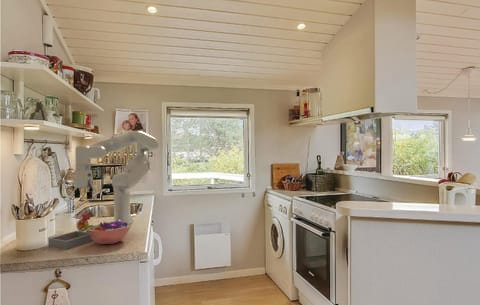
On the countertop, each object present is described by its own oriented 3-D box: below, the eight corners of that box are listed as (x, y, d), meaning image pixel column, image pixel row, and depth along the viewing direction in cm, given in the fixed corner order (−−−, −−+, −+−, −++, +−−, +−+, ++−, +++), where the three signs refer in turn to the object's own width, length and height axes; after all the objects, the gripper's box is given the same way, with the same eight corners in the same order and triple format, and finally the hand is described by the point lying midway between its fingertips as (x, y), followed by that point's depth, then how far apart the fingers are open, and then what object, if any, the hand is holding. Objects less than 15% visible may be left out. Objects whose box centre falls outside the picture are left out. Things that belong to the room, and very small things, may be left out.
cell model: (90, 240, 151) (89, 218, 151) (131, 235, 158) (131, 214, 158) (85, 250, 135) (85, 226, 135) (132, 245, 142) (131, 221, 142)
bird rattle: (77, 237, 163) (91, 231, 163) (69, 219, 164) (83, 213, 163) (83, 234, 169) (97, 228, 169) (76, 216, 170) (89, 210, 169)
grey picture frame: (76, 237, 156) (76, 230, 156) (94, 240, 151) (94, 233, 151) (48, 245, 143) (48, 238, 143) (66, 249, 137) (66, 241, 137)
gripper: (99, 167, 166) (100, 198, 166) (78, 167, 173) (78, 196, 173) (88, 168, 159) (88, 200, 159) (66, 167, 166) (66, 198, 166)
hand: (83, 198), depth 166 cm, fingers open, 9 cm apart
